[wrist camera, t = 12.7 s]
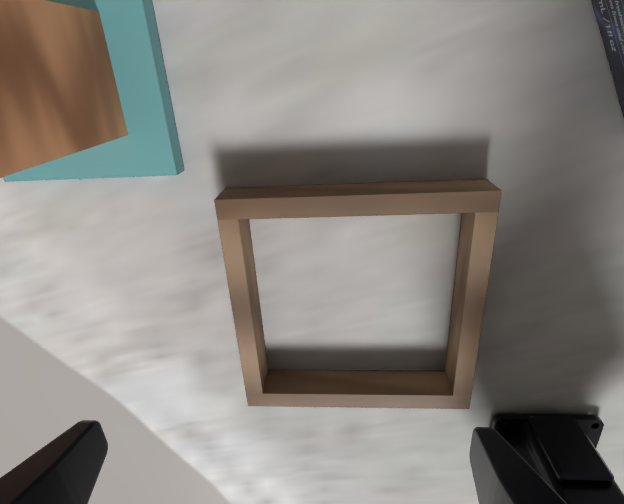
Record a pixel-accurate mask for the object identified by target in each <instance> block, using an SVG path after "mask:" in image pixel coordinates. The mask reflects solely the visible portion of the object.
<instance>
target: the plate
mask: <svg viewBox="0 0 624 504" xmlns="http://www.w3.org/2000/svg"><path fill="white" fill-rule="evenodd" d="M46 1H51V2H56V3H60V4H65V5H70V6H74V7H79V8H84V9H89V10H93V11H98V12H99V13H100V18H101V22H102V26H103V30H104V34H105V39H106V43H107V47H108V51H109V55H110V60H111V64H112V68H113V72H114V76H115V81H116V85H117V89H118V93H119V97H120V102H121V106H122V110H123V114H124V118H125V123H126V127H127V131H128V135H127V136H124V137H121V138H118V139H115V140H112V141H109V142H106V143H103V144H100V145H97V146H94V147H91V148H88V149H85V150H82V151H79V152H76V153H73V154H70V155H67V156H64V157H61V158H58V159H55V160H52V161H49V162H46V163H43V164H40V165H37V166H34V167H32V168H29V169H26V170H23V171H20V172H17V173H14V174H11V175H8V176H5V177H3V179H4V181H5V182H9V181H35V180H62V179H88V178H114V177H141V176H167V175H178V174H179V173H181V172H182V171H184V166H183V161H182V156H181V150H180V145H179V140H178V135H177V129H176V124H175V119H174V114H173V108H172V103H171V98H170V93H169V87H168V82H167V77H166V72H165V66H164V61H163V56H162V51H161V45H160V40H159V35H158V30H157V24H156V19H155V14H154V9H153V3H152V0H46Z"/></svg>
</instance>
